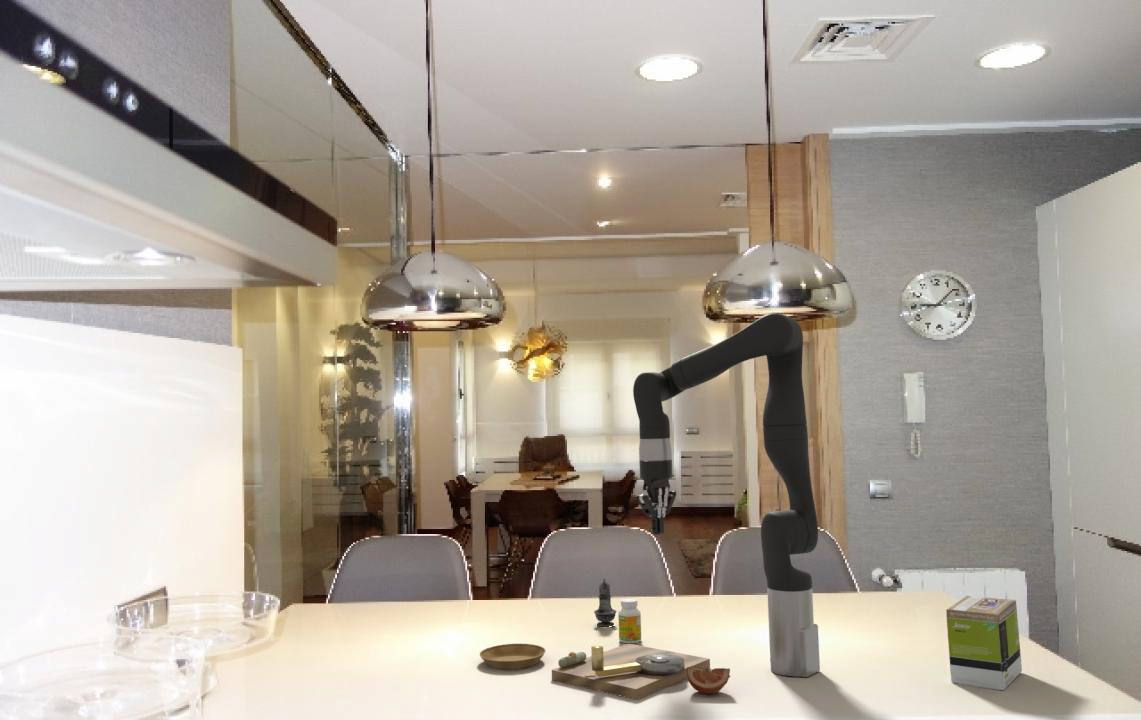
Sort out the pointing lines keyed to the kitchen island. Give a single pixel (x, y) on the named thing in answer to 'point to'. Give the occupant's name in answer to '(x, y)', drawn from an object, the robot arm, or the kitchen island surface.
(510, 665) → the plant saucer
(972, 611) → the tea box
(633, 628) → the supplement bottle
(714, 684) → the fruit slice
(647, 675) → the levelling board
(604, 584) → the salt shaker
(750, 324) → the robot arm
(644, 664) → the grey and tan lever
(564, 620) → the kitchen island surface
